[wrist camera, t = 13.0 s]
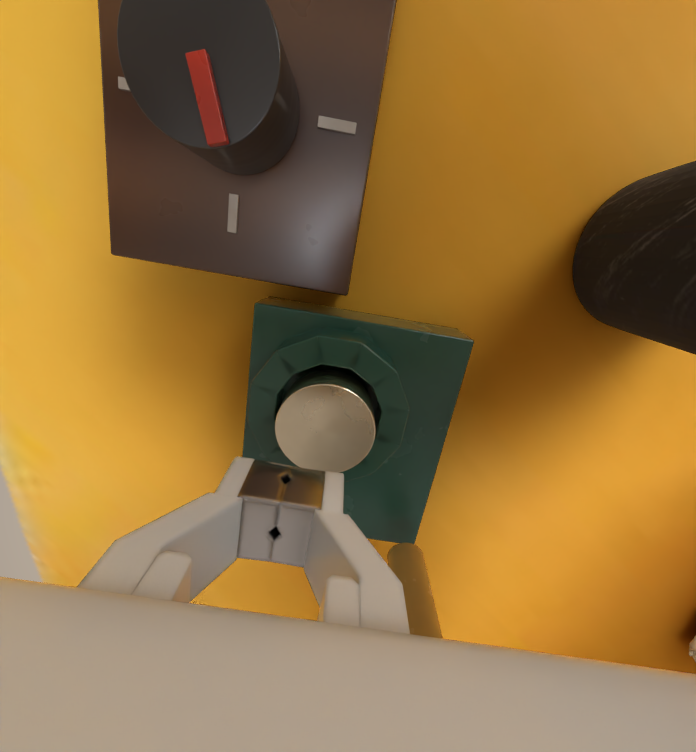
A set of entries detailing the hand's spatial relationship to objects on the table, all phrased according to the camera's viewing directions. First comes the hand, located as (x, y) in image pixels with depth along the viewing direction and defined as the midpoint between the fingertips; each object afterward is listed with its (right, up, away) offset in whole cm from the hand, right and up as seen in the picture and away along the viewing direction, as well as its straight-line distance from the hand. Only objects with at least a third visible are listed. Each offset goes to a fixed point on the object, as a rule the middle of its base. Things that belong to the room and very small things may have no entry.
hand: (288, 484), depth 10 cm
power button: (+1, +1, +6) cm, 6 cm away
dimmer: (-2, +14, +6) cm, 15 cm away
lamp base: (+1, +1, +10) cm, 10 cm away
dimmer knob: (-2, +13, +3) cm, 13 cm away
